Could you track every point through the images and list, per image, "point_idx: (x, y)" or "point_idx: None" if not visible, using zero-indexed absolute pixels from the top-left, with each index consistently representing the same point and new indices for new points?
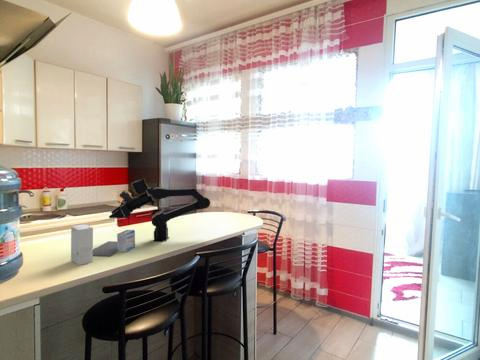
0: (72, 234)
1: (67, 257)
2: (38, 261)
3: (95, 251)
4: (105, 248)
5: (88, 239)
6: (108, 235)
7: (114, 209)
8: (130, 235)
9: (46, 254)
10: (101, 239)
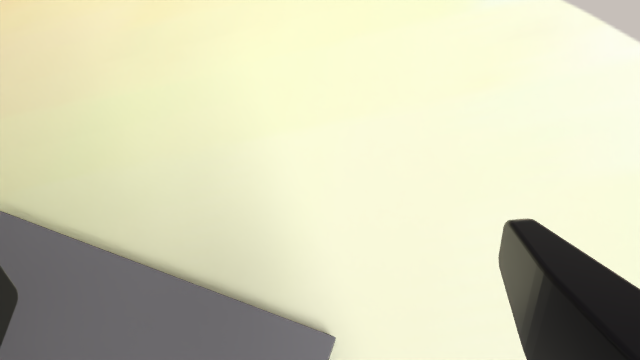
0: None
1: (21, 126)
2: (36, 21)
3: (12, 280)
4: (64, 355)
5: None
6: None
7: (606, 288)
8: None
9: (155, 17)
10: (464, 249)
